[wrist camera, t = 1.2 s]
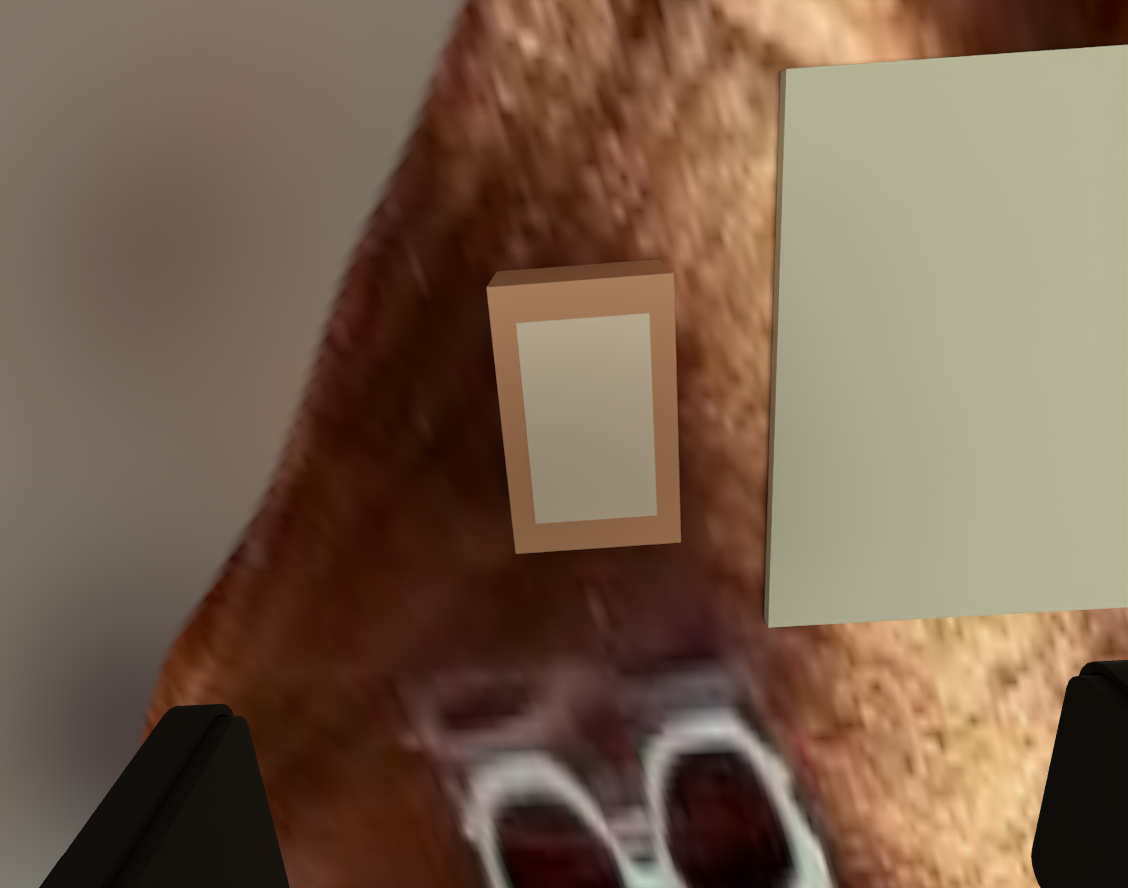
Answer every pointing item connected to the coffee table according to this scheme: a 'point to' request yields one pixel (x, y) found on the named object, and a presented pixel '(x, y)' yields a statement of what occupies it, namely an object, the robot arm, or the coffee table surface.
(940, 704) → the coffee table surface
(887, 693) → the coffee table surface
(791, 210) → the play mat
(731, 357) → the coffee table surface
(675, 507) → the block
